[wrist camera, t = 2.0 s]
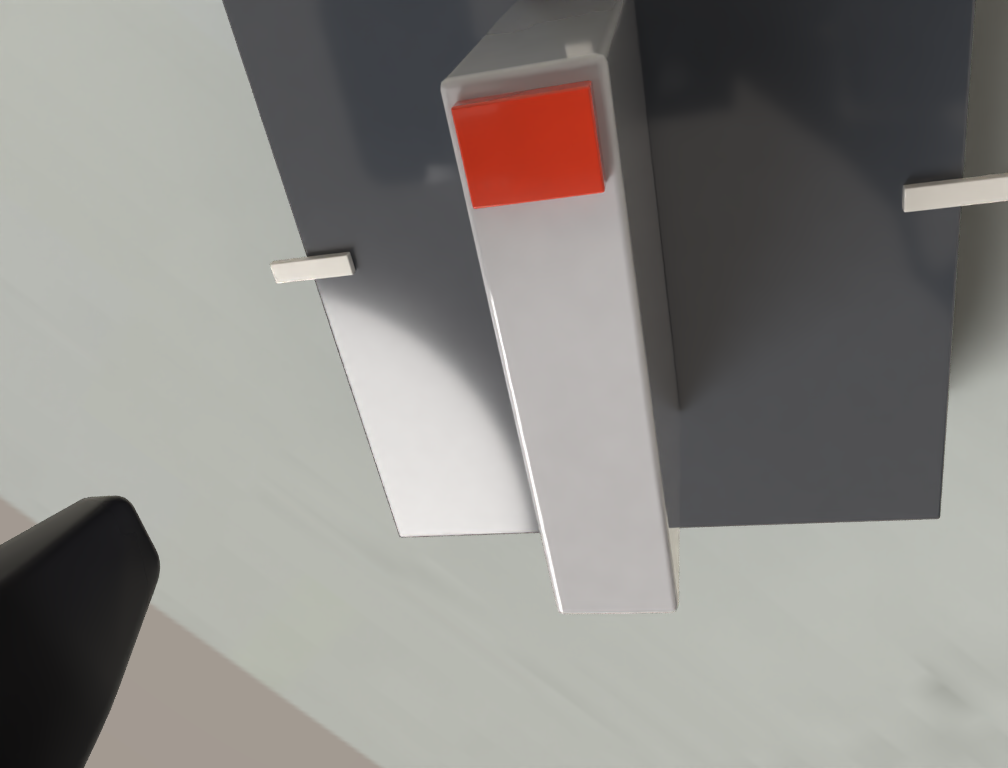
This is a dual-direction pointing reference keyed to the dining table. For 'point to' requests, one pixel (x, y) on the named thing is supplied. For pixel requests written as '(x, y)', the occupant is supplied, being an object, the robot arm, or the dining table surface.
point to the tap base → (684, 241)
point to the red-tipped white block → (577, 291)
